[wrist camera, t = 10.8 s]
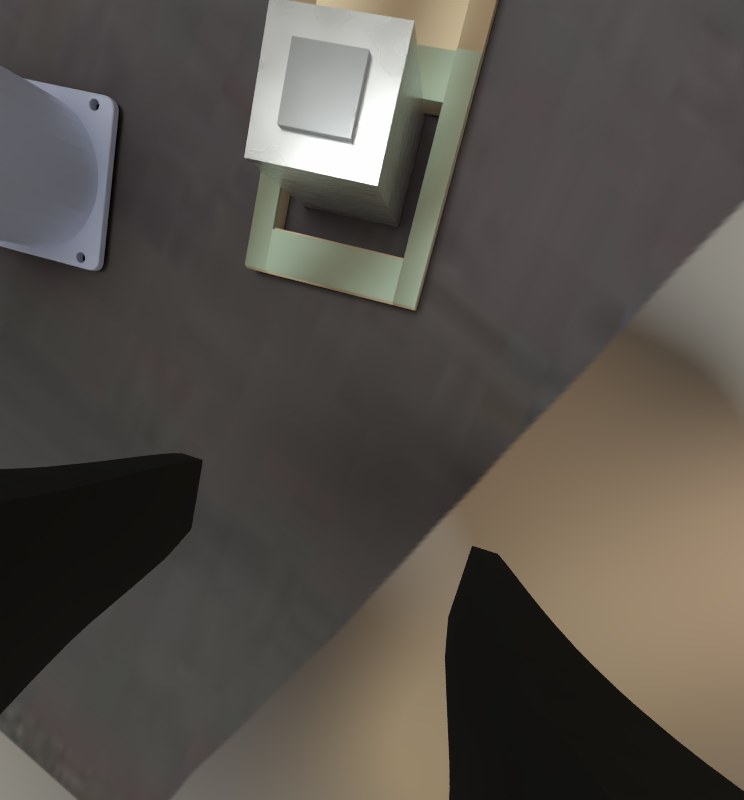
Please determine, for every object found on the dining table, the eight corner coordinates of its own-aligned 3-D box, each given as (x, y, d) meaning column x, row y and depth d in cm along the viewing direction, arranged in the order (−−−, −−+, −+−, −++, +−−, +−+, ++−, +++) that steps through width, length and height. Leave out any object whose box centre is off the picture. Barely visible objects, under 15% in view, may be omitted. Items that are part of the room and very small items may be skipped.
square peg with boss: (304, 206, 19) (240, 153, 13) (325, 99, 18) (265, -11, 12) (398, 228, 19) (375, 182, 13) (424, 118, 18) (413, 13, 12)
